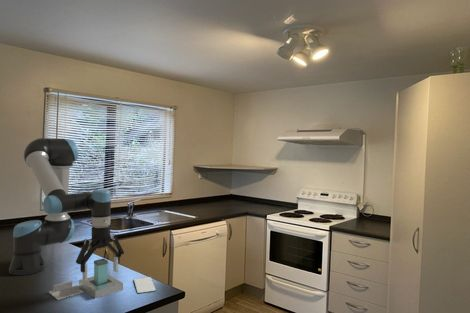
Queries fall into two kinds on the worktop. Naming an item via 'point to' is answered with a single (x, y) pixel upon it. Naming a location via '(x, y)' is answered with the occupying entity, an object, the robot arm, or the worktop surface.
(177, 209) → the worktop surface
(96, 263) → the plug
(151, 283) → the smartphone
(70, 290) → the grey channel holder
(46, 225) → the robot arm
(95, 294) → the port panel
